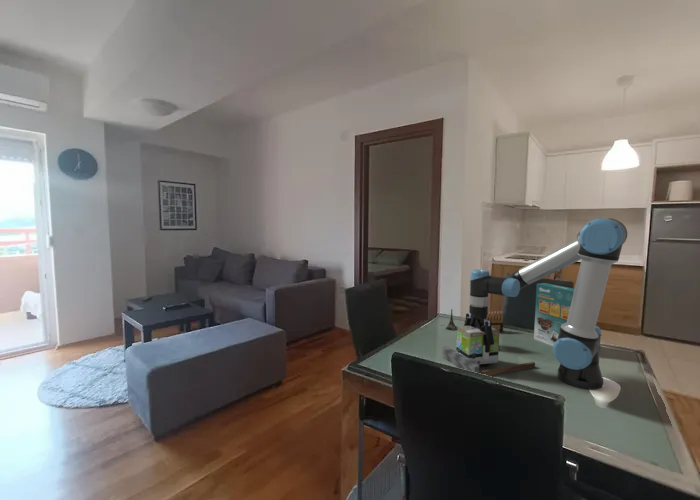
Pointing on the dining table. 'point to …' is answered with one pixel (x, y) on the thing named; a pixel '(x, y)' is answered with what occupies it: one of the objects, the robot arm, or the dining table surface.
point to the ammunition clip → (496, 320)
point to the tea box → (476, 344)
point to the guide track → (469, 365)
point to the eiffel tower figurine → (451, 324)
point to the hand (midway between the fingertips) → (476, 354)
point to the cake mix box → (551, 311)
